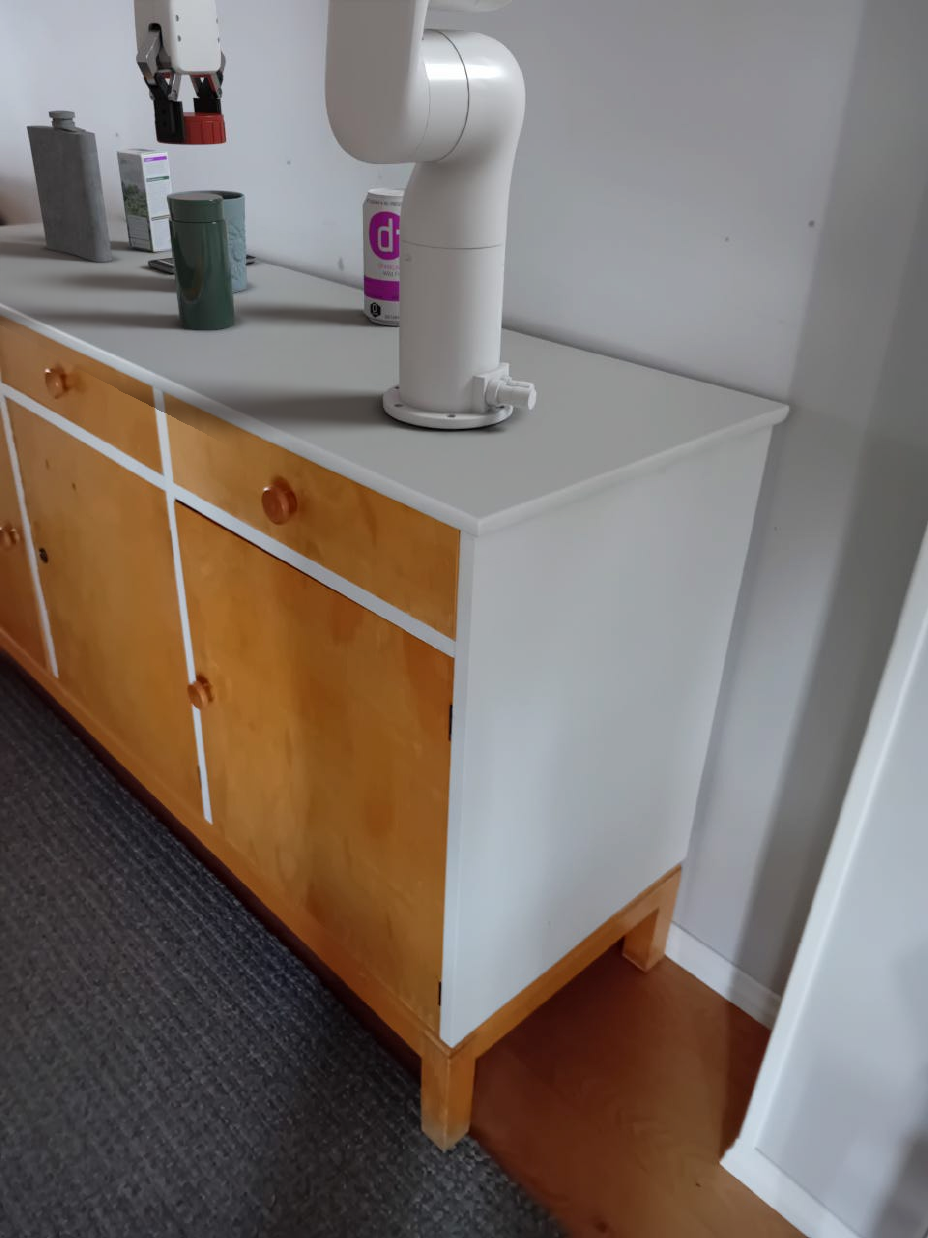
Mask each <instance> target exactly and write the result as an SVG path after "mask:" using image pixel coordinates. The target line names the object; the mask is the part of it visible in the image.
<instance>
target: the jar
mask: <svg viewBox="0 0 928 1238" xmlns="http://www.w3.org/2000/svg"><path fill="white" fill-rule="evenodd" d="M223 201H224V199H223V198H222V196H220V195H216V194H208V193H181V194H174V195H170V196H169V204H170V213H171V217H170V218H169V219H168V220H169V229H170V238H171V247H172V249H171V255H172V258H173V265H174V273H173V274H174V283H175V291H176V301H177V302H176V303H177V310H178V318H179V319H178V321H179V325H180V326H181V327H183V328H185V329H189V330H196V331H197V330H198V331H212V330H213V331H214V330H215V331H216V330H222V329H227V328H231V327H233V326H235V324H236V317H235V316H236V314H235V301H234V292H233V289H232V276H231V264H230V252H229V240H228V227H227V218H225V217H224V211H223Z"/></svg>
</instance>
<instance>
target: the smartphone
mask: <svg viewBox="0 0 928 1238" xmlns="http://www.w3.org/2000/svg"><path fill="white" fill-rule="evenodd" d="M256 262H257V257H256V256H253V255H249V254H246V265H248V264H255V263H256ZM147 265H148V266H149V267H150V268H153V269H157V270H160V271H162V272H166V273H169V274H174V265H173V257H167V258H158V259H151V260H148V261H147Z"/></svg>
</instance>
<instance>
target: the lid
mask: <svg viewBox="0 0 928 1238" xmlns="http://www.w3.org/2000/svg"><path fill="white" fill-rule="evenodd" d="M183 115H184V124H185V134H186V141H185V142H184V143H170V142H160V141H158V139H157V131H156V122H155V121H154V129H155V130H154V131H155V136H156V137H155V138H156V142H157V143H159V144H165V145H181V146H205V145H206V146H209V145H221V144H225V143H227V134H226V133H227V132H226V123H225V122H226V121H225V116H224V114H223V113H222V114H219V113H204V112H194V111H183ZM153 116H154V118H155V114H153Z"/></svg>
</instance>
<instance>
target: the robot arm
mask: <svg viewBox="0 0 928 1238" xmlns="http://www.w3.org/2000/svg"><path fill="white" fill-rule="evenodd" d="M512 1H513V0H328V7H327V8H328V9H327V26H326V41H325V42H326V43H325V61H324V62H325V64H324V102H325V109H326V115H327V119H328V123H329V126H330V129H331V132H332V134H333V136H334V138H335V140H336V141H337V143H338V145H339V146H340V148H341V149H342V150H343V151H344V152H345V153H346V154H347V155H349V156H350V157H351V158H354V159H355V160H357V161H359V162H362V163H365V164H371V165H399V164H413V163H414V166H413V168H412V170H411V173H410V175H409V178H408V180H407V183H406V185H405V192H404V195H403V200H402V204H401V211H400V236H399V326H398V369H399V370H398V377H399V378H398V384H394V385H393V386H391V387H390V388H388V389H387V390H386V391H385V392H383V396H382V407H383V410H384V411H385V413H387V414H388V415H389V416H391V417H392V418H393V419H396V420H398V421H400V422H403V423H405V424H410V425H414V426H418V427H423V428H432V429H440V430H441V429H442V430H443V429H444V430H461V429H462V430H463V429H465V430H466V429H475V428H476V429H477V428H482V427H487V426H491V425H496V424H498V423H500V422H502V421H504V420H506V419H507V418H509V416H511V415H512V413H513V411H514V408H517V409H521V410H527V411H531V410H533V409H534V407H535V405H536V402H537V390H536V389H535V385H534V383H533V382H528V381H521V380H519V381H518V380H513V379H512V378H513V377H511V376H509V375H510V363H508V362H502V361H500V358H501V340H502V338H501V337H502V322H503V321H502V320H503V301H504V285H505V263H506V244H507V231H508V215H509V202H510V201H509V200H510V190H511V182H512V175H513V169H514V163H515V158H516V153H517V149H518V146H519V141H520V137H521V132H522V128H523V124H524V123H523V122H524V119H525V111H526V86H525V80H524V76H523V72H522V69H521V67H520V65H519V62H518V60H517V59H516V57H515V56H514V54H513V53H512V51H511V50H509V48H507V46H505V45H504V44H503V43H502V42H500V41H499V40H497V39H496V38H494V37H492V36H489V35H486V34H484V33H481V32H477V31H471V30H463V29H449V28H447V29H445V28H425V23H426V17H427V12H428V11H436V12H437V11H439V12H455V13H487V12H494V11H498V10H500V9H503V8H505V7H507V6H508V5H509V4H510V3H511V2H512ZM133 9H134V12H133V13H134V29H135V39H136V49H137V54H136V56H135V61H136V64H137V66H138V68H139V70H140V72H141V74H142V76H143V81H144V84H145V85H146V86H147V89H149V90H148V96H149V99H150V100H151V101H152V104H153V112H154V114H155V117H154V123H155V122H156V130H155V132H156V131H157V138H156V140H157V139H158V141H160V142H170V143H184V142H185V141H186V134H185V124H184V115H183V112H184V106H183V100H178V99H179V93H180V87H181V82H182V77H183V76H189V79H190V81H191V84H192V87H193V89H194V93H195V95H196V97H192V102H193V110H194V111H193V112H204V113H219V114H223V112H222V111H223V110H222V98H223V90H222V89H223V88H222V85H223V82H224V72H225V68H226V64H227V63H226V62H227V59H226V56H225V54H224V53H223V51H222V50H221V37H220V27H219V20H218V18H219V17H218V11H217V5H216V0H133ZM166 79H167V80H168V79H169V82H168V81H167V80H166ZM154 114H153V115H154Z"/></svg>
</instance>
